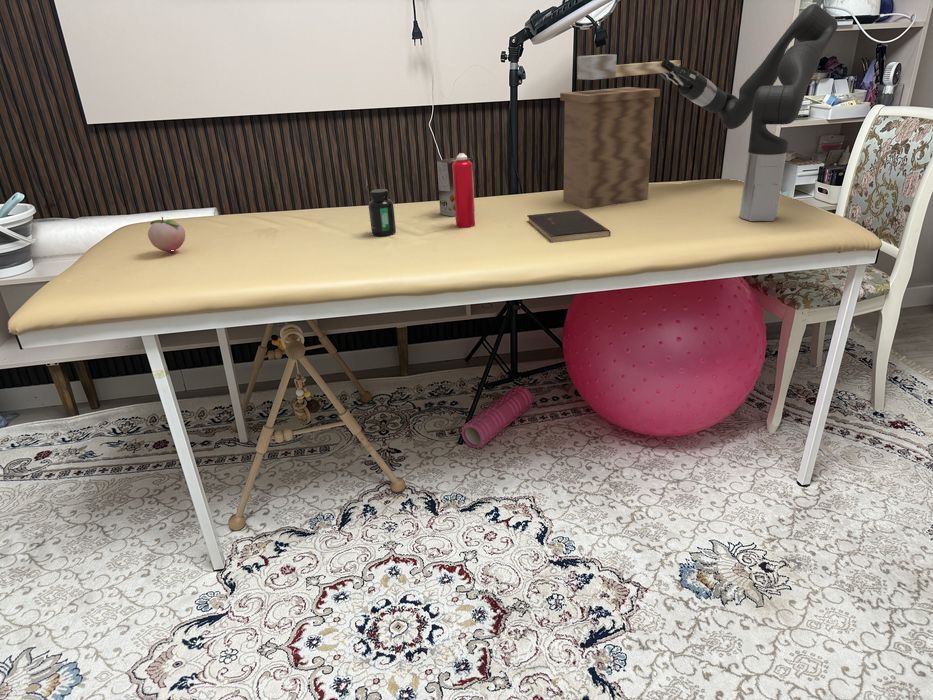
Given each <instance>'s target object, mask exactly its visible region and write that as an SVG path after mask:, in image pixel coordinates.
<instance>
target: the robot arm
mask: <svg viewBox="0 0 933 700" xmlns="http://www.w3.org/2000/svg"><path fill="white" fill-rule="evenodd" d="M838 25H839V24H838V21H837V20H836V18H835V17H834V16H832V15H831V14H830V13H829V12H827V11H826V10H825V9H823V8H822V7H821V6H820V5H818V4H817V3H811V4H809V5H808V6H806V8H804V9H803V10H802V11H801V12H800V13H799V14H798V16H797V17H796V18H795V19H794V20H793V22H792V23H791V24H790V26H789V27H787V29H786V30H785V32H784V33H783V34H782V35H781V37H780V38H779V40H778V41H777V42H776V43H775V45H774V46H772V47H773V48H772V49H771V50H770V52H768V54H767V56H766V57H765V58H764V59H763V60H762V62H761V64H760V65H759V66H758V67H757V68H756V69H755V71H754V72H753V73H752V74H751V75H750V76H749V77H748V78H747V79H746V80H745V82H744V83H743V84H742V85H741V86H740V88H739V90H738V95H739V96H738V97H737V96H736V95H734V94H731V93H728V92H726V91H723V90H722V89H720V88H719V87H718V86H716V84H714V83H713V82H712V81H711V80H710V79H708V78H706V76H704V75H703V74H702V73H700V72H698V71H697V70H691V69H689V68H687V67H685V66H683V65H679V66H678V65H677V64H673V63H671V62H670V61H671V60H669V59H667V58H664V59H663V60H662V59H660V58H656V59H655V61H654V62H661V61H662V64H661V66H662V67H663V68H665V69H666V70H668V71H669V72H666V73H658V74H659V75H660V76H661V77H662V79H663V80H664V81H665V82H669V81H671V82H672V83H673V84H675V85H676V86H678V92H679V94H680V95H681V96H683V97H685V98H686V99H688V100H689V101H691V102H692V103H693V104H695V105H697V106H699V107H701V108H702V109H704V110H705V111H707V112H708V113H711V114H716V113H717V114H718V115H719V118H720V120H721V123H722V126H723V127H724V128H726V129H728V130H734V129H737V128H739V127H741V126H742V125H743V124H744V123H745V122H746V121H747V119H748V118H749V117H750V115H751V121H750V122H751V123H750V133H749V140H748V141H749V144H748V149H747V157H746V164H745V171H744V178H743V185H742V194H741V199H740V200H741V202H740V211H739V218H741V219H742V220H746V221H749V222H774V221H775V220H776V219H777V217H778V216H777V214H778V209H779V202H780V196H781V190H782V183H783V177H784V171H785V166H786V160H787V153H788V148H789V147H788V146H789V143H788V140H786V139H785V138H783V137H780V136H777V135H775V134H774V133H773V132H771V131H769V130H768V128H767V125H789V124H793V122H794V121H796V119H797V117H798V116H799V114H800V110H801V107H802V105H803V102H804V99H805V96H806V92H807V89H808V87H809V85H810V83H811V81H812V80H813V79H812V78H813V77H814V75H815V73H816V71H817V69H818V67H819V64H820V61H821V59H822V58H823V57H822V56H823V54H824V52H825V50H826V48H827V47H828V45H829V44H830V42H831V41H832V39H833V38H834V35H835V34H836V32H837V30H838V27H839V26H838ZM794 39H795V40H797V41H798V43H794V44H793V45H791V46H790V47H789V45H790V44H791V43H792V41H793V40H794ZM788 47H789V48H788ZM670 71H671V72H670ZM777 79H778V80H779V82H780V84H781V85H778V84H776V85H775V83H776V82H777Z"/></svg>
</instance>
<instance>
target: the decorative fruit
mask: <svg viewBox="0 0 933 700" xmlns="http://www.w3.org/2000/svg"><path fill="white" fill-rule="evenodd" d="M147 231H148V232H147V237H148V239H149V242H150V243H151V244H152V246H153V247H154V248H156V249H158V250H160V251H163V252H168V253H170V254H172V253H174V252H176V251H177V250H179V249H180V248H181V247H182V246H183V244H184V242H185V241H186V231H185V229H184V227H183V226H182V225H181V223H178V222H176V221H175V220H172V219H167V220H164V217H163V216H161V219H155V220H152V221H150V227H149V228H148V230H147ZM176 249H177V250H176ZM171 250H174V251H171Z"/></svg>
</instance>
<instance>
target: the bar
mask: <svg viewBox="0 0 933 700" xmlns="http://www.w3.org/2000/svg"><path fill="white" fill-rule="evenodd" d="M662 61H663V60H661V62H655V61H650V62H638V63H628V64H627V63H625V64H617V54H595V55H593V54H591V55H579V56H577V62H576V63H577V65H576V68H577V70H576V71H577V72H576V73H577V75H576V76H577V78H576V80H586V81H587V80H603V79H614V78H615V79H616V78H619V77H620V78H621V77H629V76H631V77H632V76H643V75H652V74H653V75H655V74H659V73H666V72H669V71H668V70H666V69H665V68H663V67H662V66H661V64H662ZM669 61H670V62H671V63H673V64H677V65H678V66H679V65H681V64H682V63H681V62H682V60H679V59H677V60H676V59H675V60H669ZM670 72H671V71H670Z"/></svg>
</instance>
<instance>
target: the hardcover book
mask: <svg viewBox="0 0 933 700" xmlns="http://www.w3.org/2000/svg"><path fill="white" fill-rule="evenodd" d="M526 217H527V218H528V222H529V223H530V224H531V225H532V226H534V227H535V228H536V229H537V230H538V231H539V232H541V234H542V235H544V236H545V237H546V238H547V239H548V240H550V242H551V243H557V242H558V243H559V242H565V241H566V242H567V241H576V240H584V239H585V240H586V239H594V238H595V239H596V238H603V237H611V230H610V229H609V228H607V227H606V226H604V225H603V224H601V223H599V222H598V221H597V220H594V219H593V218H592V217H590V216H588V215H587V214H585V213H584V212H582V211H581V210H579V209H575V210H574V209H573V210H568V211H567V210H565V211H556V212H554V211H553V212H545V213H536V214H528V215H527V216H526Z"/></svg>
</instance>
